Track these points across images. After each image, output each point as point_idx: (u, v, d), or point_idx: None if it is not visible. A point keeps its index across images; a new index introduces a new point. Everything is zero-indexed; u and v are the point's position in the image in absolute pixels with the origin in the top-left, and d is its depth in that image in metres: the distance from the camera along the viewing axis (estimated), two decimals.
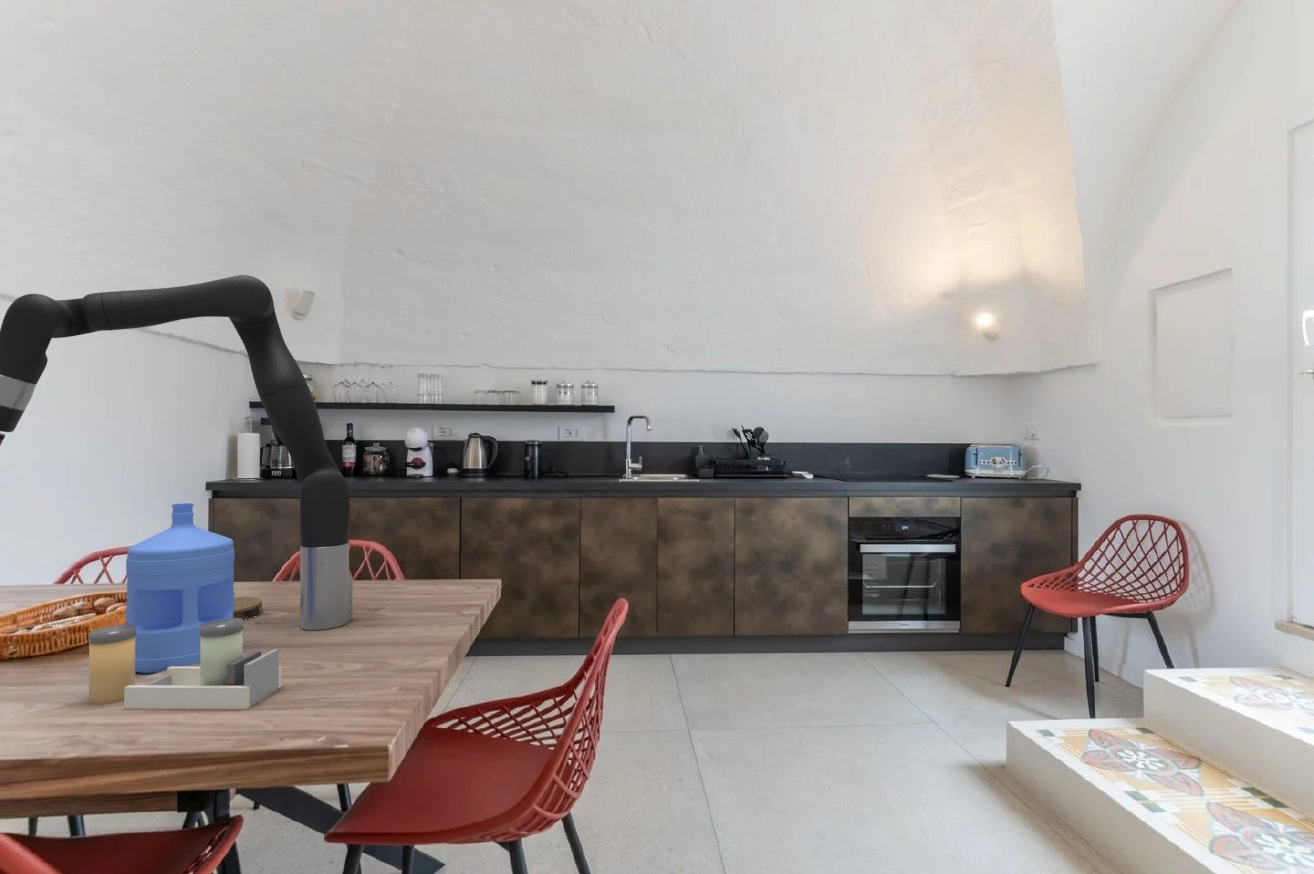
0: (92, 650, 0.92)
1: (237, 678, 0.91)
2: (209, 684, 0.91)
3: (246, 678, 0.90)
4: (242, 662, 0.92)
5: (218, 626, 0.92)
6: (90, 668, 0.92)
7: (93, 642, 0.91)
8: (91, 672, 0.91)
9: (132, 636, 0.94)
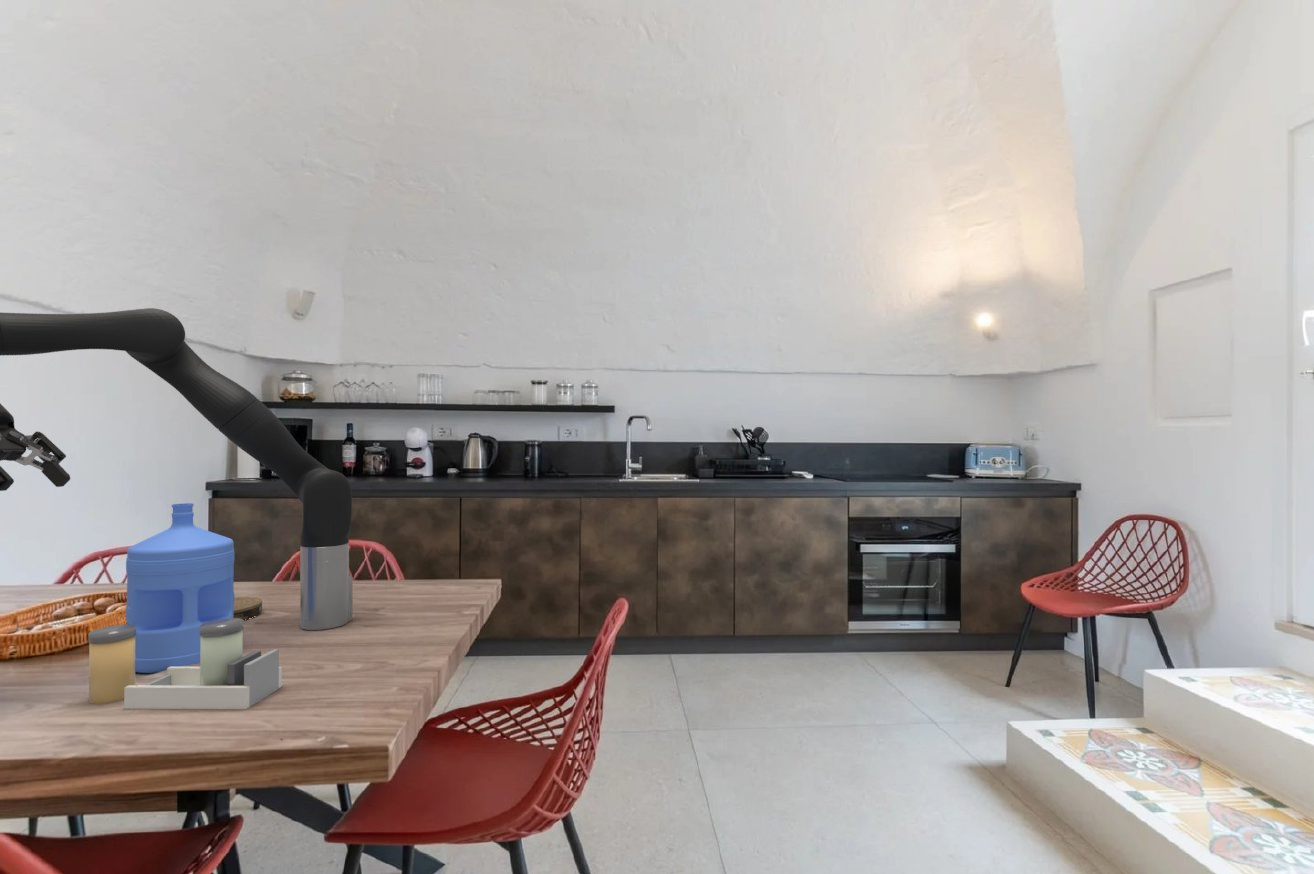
0: (92, 650, 0.92)
1: (237, 678, 0.91)
2: (209, 684, 0.91)
3: (246, 678, 0.90)
4: (242, 662, 0.92)
5: (218, 626, 0.92)
6: (90, 668, 0.92)
7: (93, 642, 0.91)
8: (91, 672, 0.91)
9: (132, 636, 0.94)
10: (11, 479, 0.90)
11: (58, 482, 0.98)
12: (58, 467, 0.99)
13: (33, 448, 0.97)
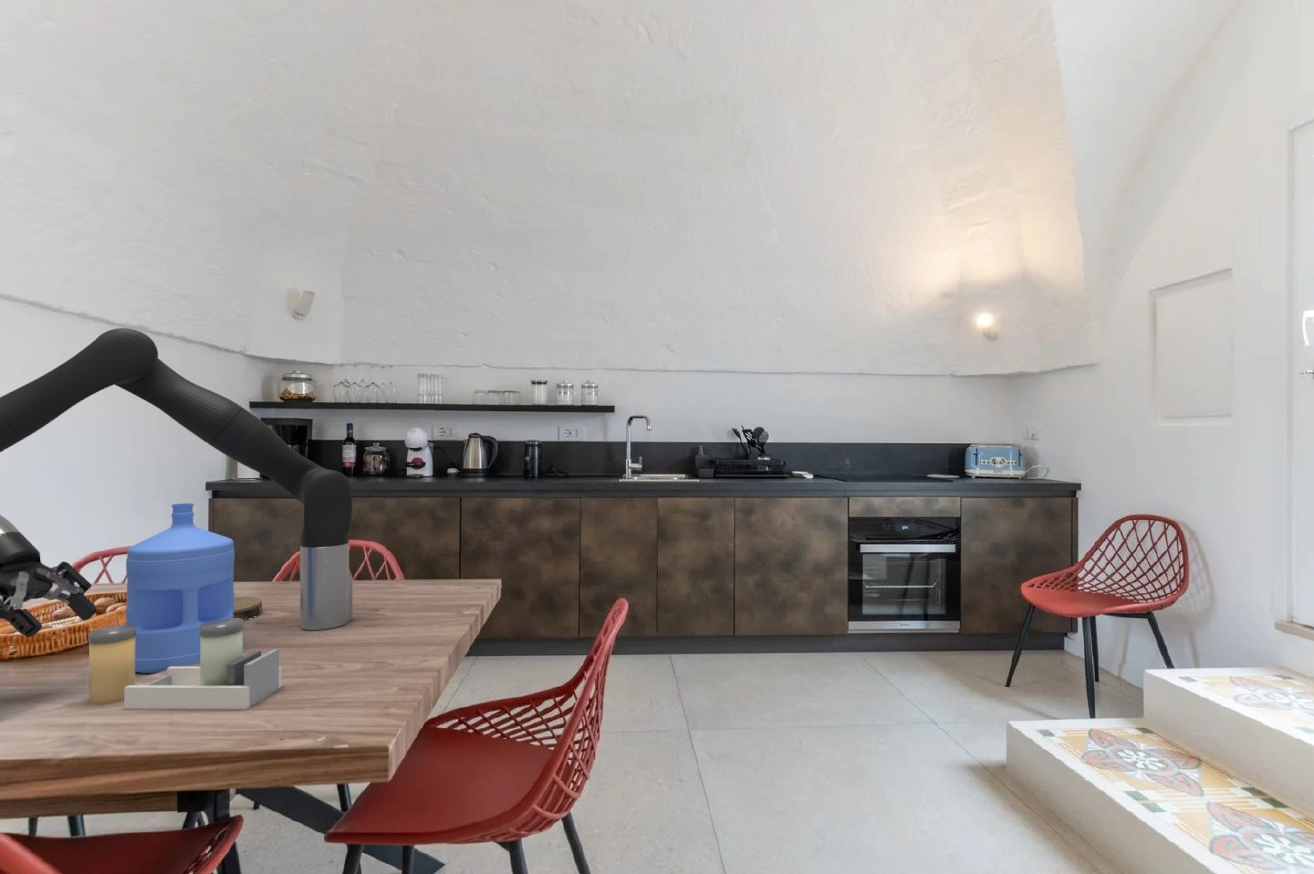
0: (92, 650, 0.92)
1: (237, 678, 0.91)
2: (209, 684, 0.91)
3: (246, 678, 0.90)
4: (242, 662, 0.92)
5: (218, 626, 0.92)
6: (90, 668, 0.92)
7: (93, 642, 0.91)
8: (91, 672, 0.91)
9: (132, 636, 0.94)
10: (39, 625, 0.90)
11: (84, 616, 0.98)
12: (84, 600, 0.98)
13: (60, 583, 0.97)
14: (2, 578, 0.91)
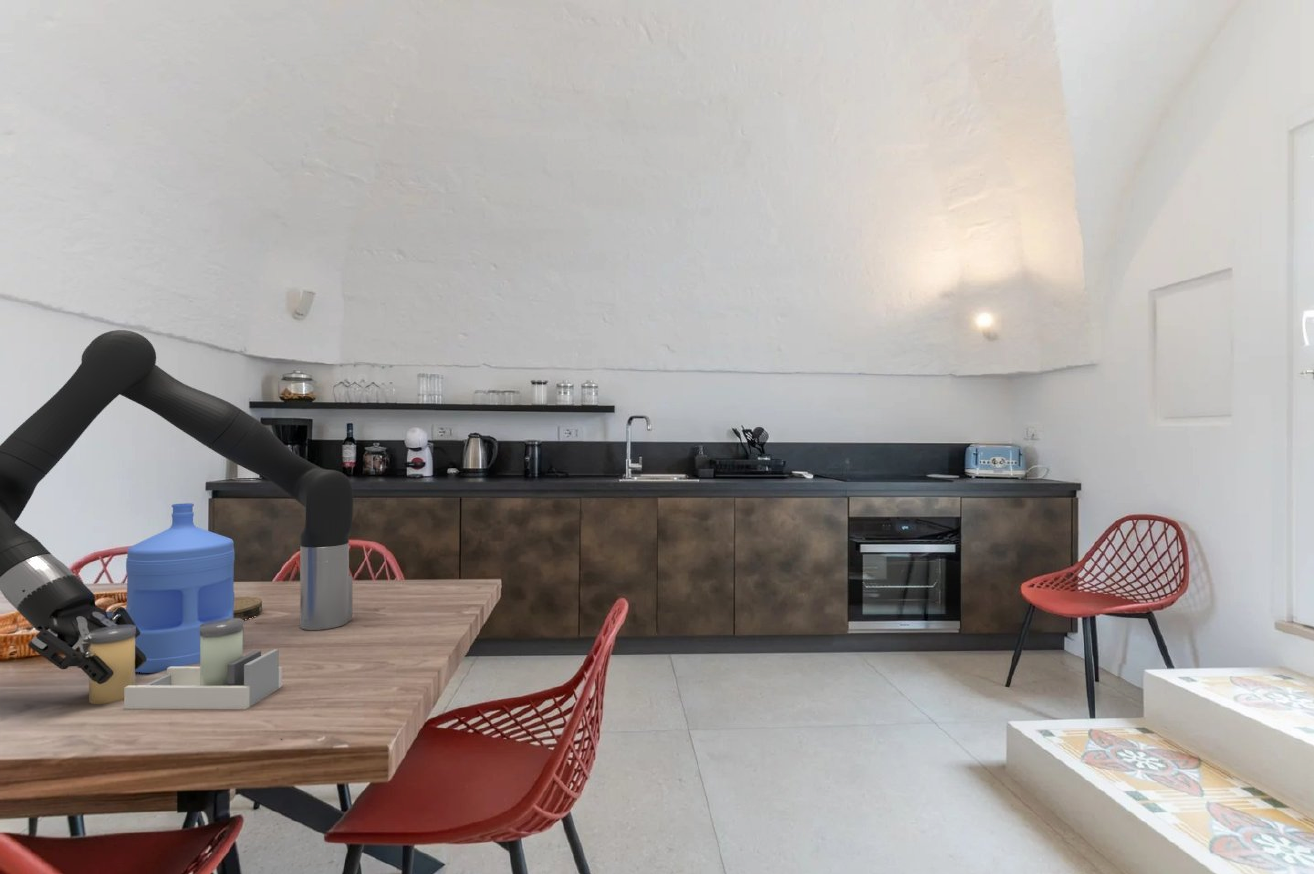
0: None
1: (237, 678, 0.91)
2: (209, 684, 0.91)
3: (246, 678, 0.90)
4: (242, 662, 0.92)
5: (218, 626, 0.92)
6: None
7: (93, 642, 0.91)
8: None
9: (132, 636, 0.94)
10: (111, 671, 0.91)
11: (135, 665, 0.96)
12: None
13: None
14: (61, 624, 0.91)
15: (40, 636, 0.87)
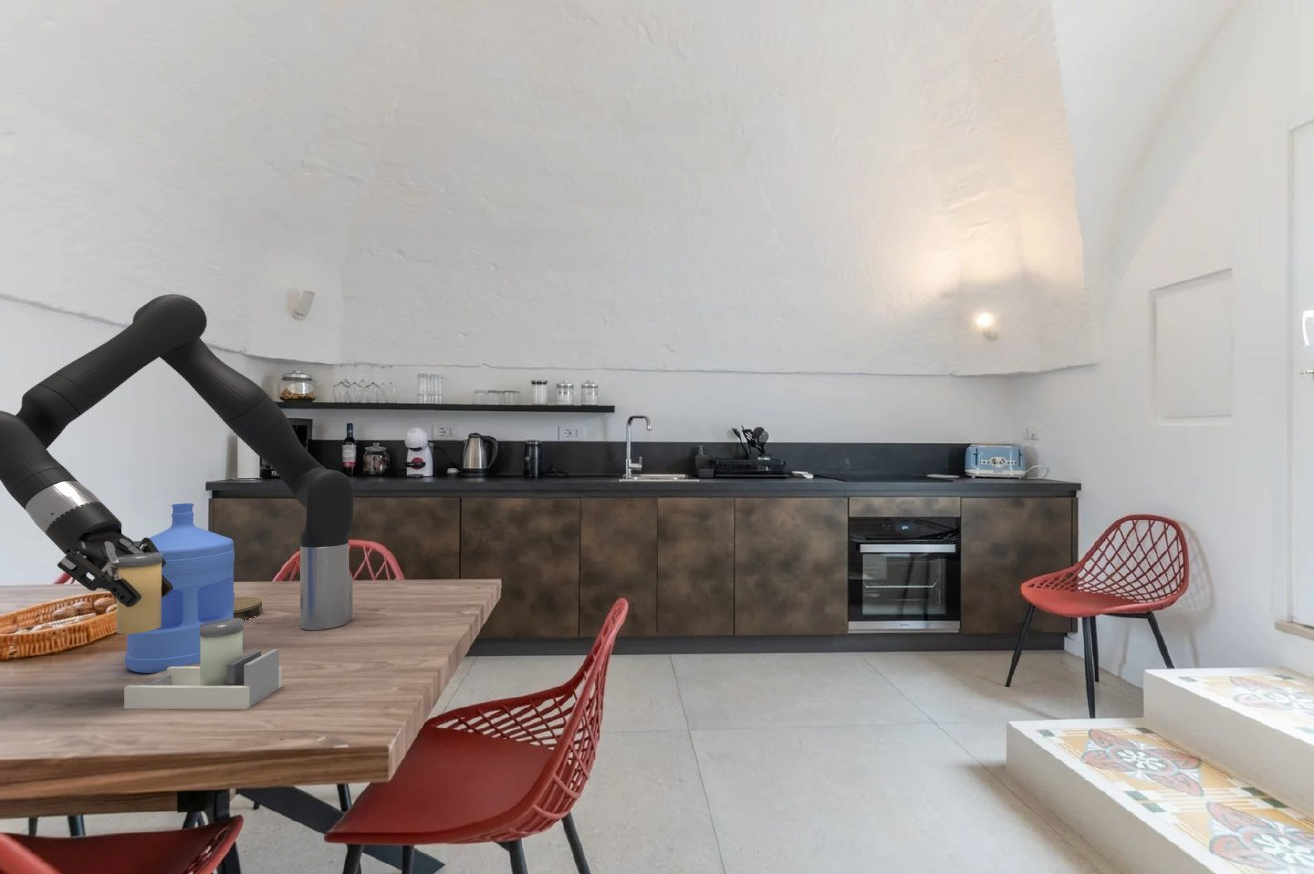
0: None
1: (237, 678, 0.91)
2: (209, 684, 0.91)
3: (246, 678, 0.90)
4: (242, 662, 0.92)
5: (218, 626, 0.92)
6: None
7: (121, 566, 0.92)
8: None
9: (159, 562, 0.94)
10: (139, 595, 0.91)
11: None
12: None
13: None
14: (89, 547, 0.91)
15: (69, 556, 0.88)
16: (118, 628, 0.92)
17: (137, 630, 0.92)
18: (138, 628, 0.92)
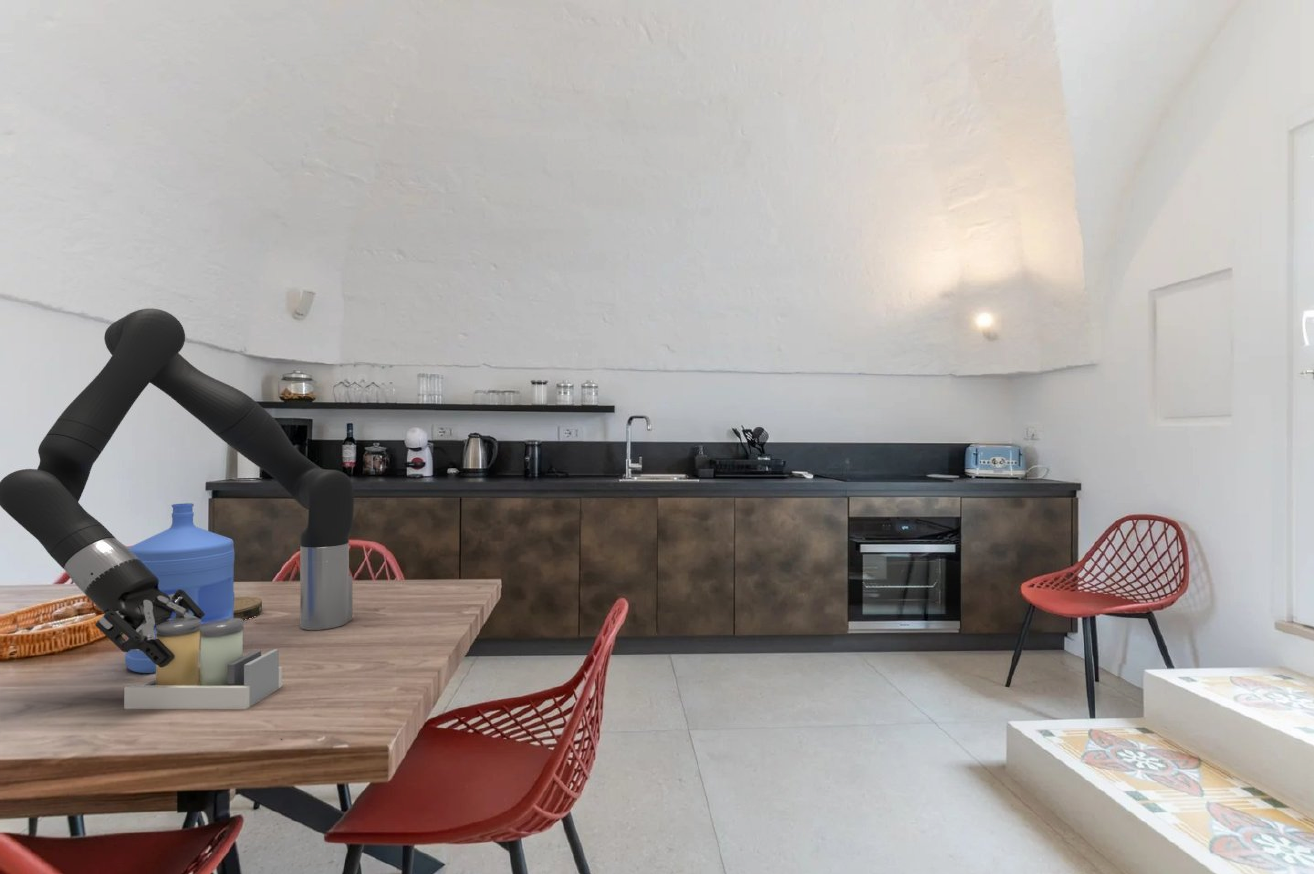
0: None
1: (237, 678, 0.91)
2: (209, 684, 0.91)
3: (246, 678, 0.90)
4: (242, 662, 0.92)
5: (218, 626, 0.92)
6: None
7: (161, 635, 0.91)
8: None
9: (198, 629, 0.94)
10: (172, 655, 0.90)
11: None
12: None
13: (178, 611, 0.96)
14: (129, 607, 0.91)
15: (107, 616, 0.87)
16: None
17: None
18: None
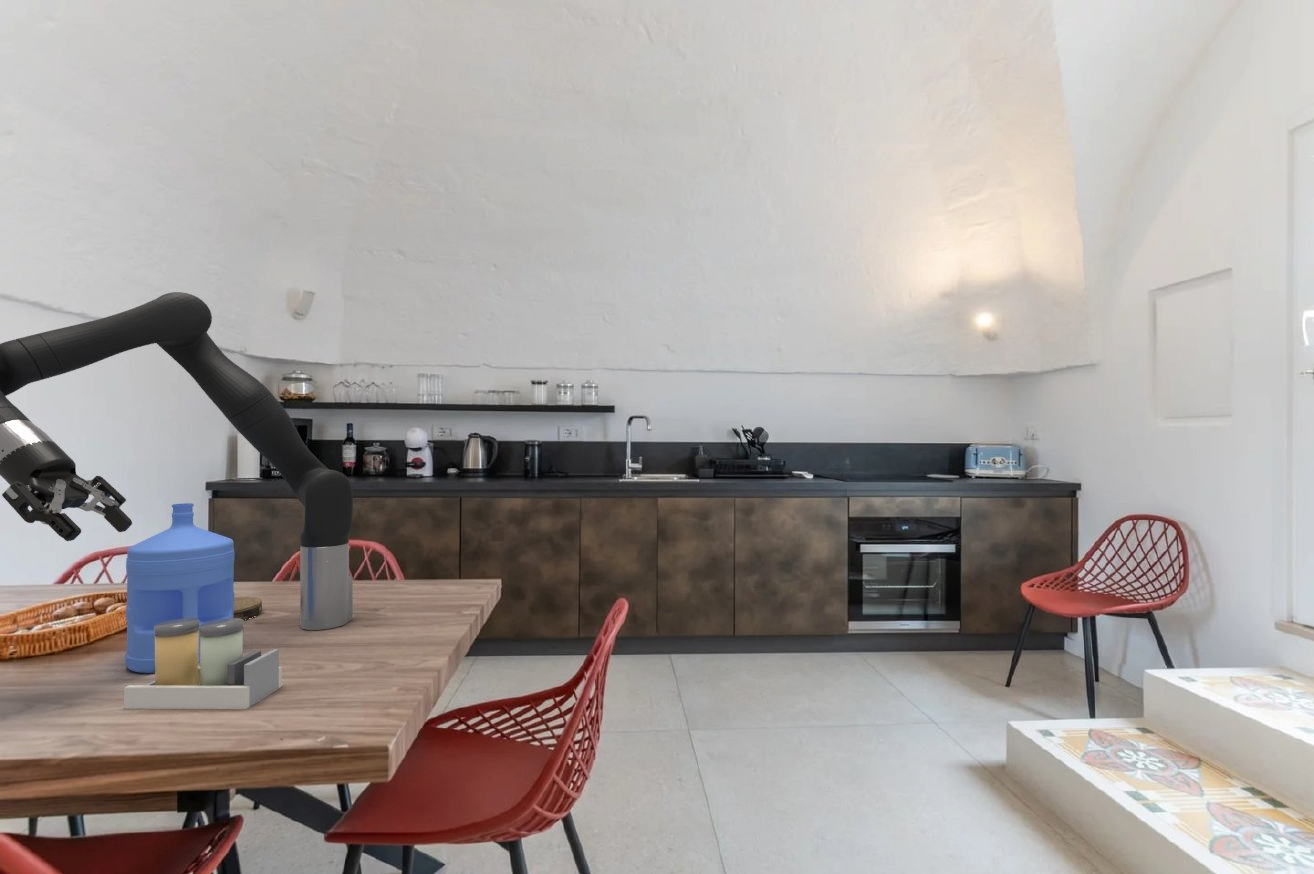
0: (158, 643, 0.91)
1: (237, 678, 0.91)
2: (209, 684, 0.91)
3: (246, 678, 0.90)
4: (242, 662, 0.92)
5: (218, 626, 0.92)
6: (156, 661, 0.92)
7: (159, 635, 0.91)
8: (158, 665, 0.91)
9: (196, 629, 0.94)
10: (79, 529, 0.90)
11: (120, 527, 0.98)
12: (120, 512, 0.98)
13: (96, 494, 0.97)
14: (40, 483, 0.91)
15: (13, 485, 0.87)
16: None
17: None
18: None
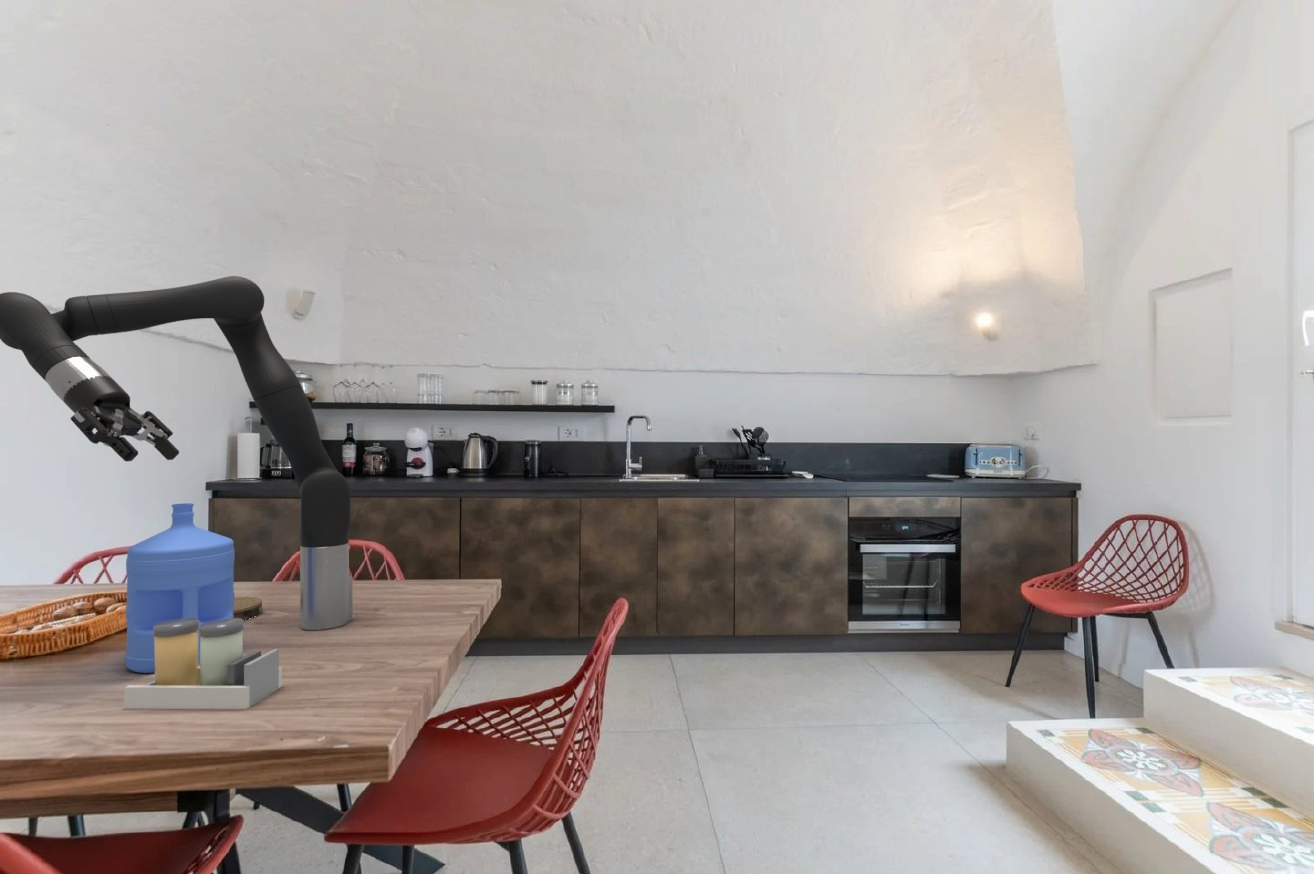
0: (157, 643, 0.91)
1: (237, 678, 0.91)
2: (209, 684, 0.91)
3: (246, 678, 0.90)
4: (242, 662, 0.92)
5: (218, 626, 0.92)
6: (156, 661, 0.92)
7: (159, 635, 0.91)
8: (158, 665, 0.91)
9: (196, 629, 0.94)
10: (136, 451, 1.02)
11: (169, 456, 1.10)
12: (168, 442, 1.10)
13: (148, 425, 1.09)
14: (102, 411, 1.03)
15: (80, 410, 0.99)
16: None
17: None
18: None
